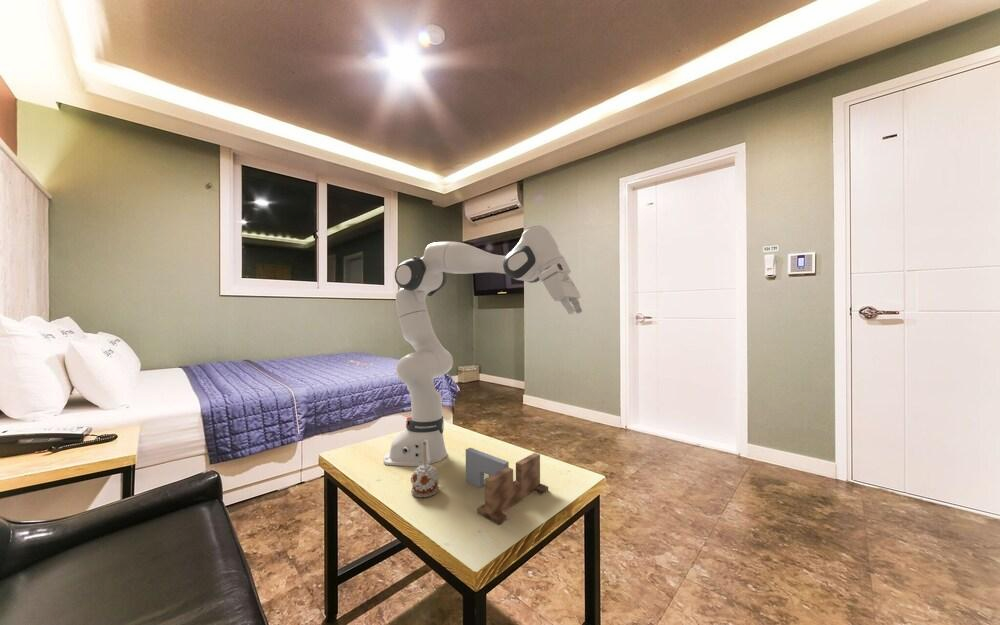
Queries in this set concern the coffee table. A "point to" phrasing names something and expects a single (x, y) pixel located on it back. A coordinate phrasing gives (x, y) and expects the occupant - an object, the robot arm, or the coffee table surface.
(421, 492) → the decorative ornament
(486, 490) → the walnut crosspiece
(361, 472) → the coffee table surface
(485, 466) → the grey plate
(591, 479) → the coffee table surface
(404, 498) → the coffee table surface
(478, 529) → the coffee table surface
